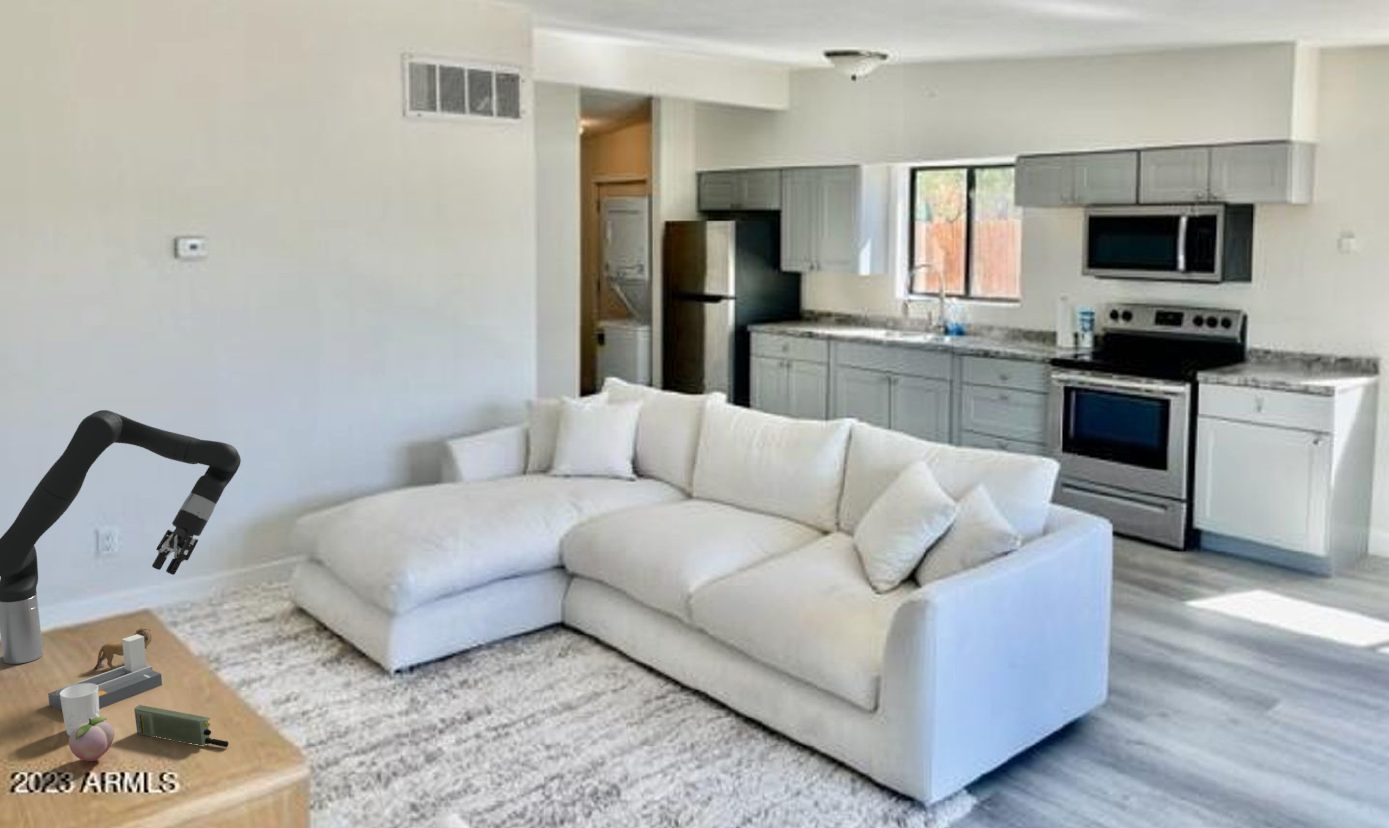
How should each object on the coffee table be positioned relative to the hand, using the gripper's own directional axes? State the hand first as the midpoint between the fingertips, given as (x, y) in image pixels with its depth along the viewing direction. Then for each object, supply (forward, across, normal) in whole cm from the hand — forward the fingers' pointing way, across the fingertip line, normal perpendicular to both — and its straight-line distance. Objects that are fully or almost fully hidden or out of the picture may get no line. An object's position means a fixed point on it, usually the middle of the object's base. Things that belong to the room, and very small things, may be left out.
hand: (162, 571), depth 292 cm
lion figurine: (+25, -16, +11) cm, 31 cm away
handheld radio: (+34, +38, +6) cm, 51 cm away
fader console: (+32, +1, +3) cm, 32 cm away
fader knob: (+25, 0, +7) cm, 26 cm away
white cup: (+40, +17, -6) cm, 44 cm away
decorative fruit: (+44, +34, -8) cm, 56 cm away
